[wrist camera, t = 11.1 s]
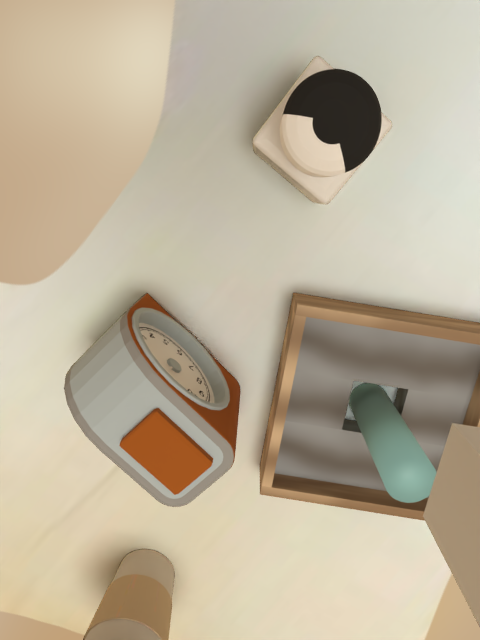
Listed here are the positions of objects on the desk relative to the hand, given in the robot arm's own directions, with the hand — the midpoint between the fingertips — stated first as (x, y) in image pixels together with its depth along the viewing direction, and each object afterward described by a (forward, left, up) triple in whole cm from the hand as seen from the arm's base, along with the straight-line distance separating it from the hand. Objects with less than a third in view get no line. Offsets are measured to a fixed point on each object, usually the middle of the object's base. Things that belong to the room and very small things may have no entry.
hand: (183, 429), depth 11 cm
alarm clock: (+13, -5, -35) cm, 38 cm away
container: (-11, +5, -35) cm, 37 cm away
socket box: (+13, +16, -35) cm, 40 cm away
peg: (+13, +16, -35) cm, 40 cm away
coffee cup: (+40, -5, -35) cm, 53 cm away
